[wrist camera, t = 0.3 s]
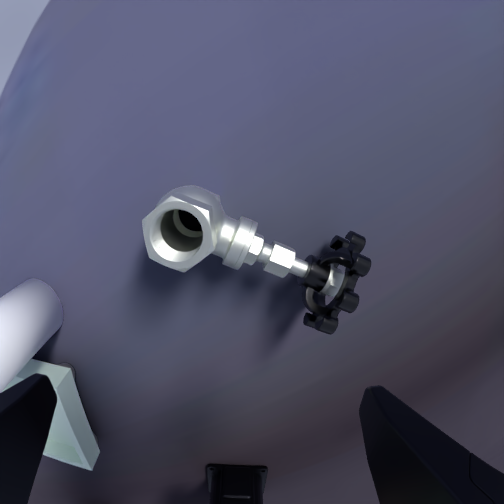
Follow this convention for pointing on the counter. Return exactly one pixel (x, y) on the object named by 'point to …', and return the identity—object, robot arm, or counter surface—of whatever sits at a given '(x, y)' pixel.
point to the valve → (254, 252)
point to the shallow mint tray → (65, 416)
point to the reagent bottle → (26, 325)
